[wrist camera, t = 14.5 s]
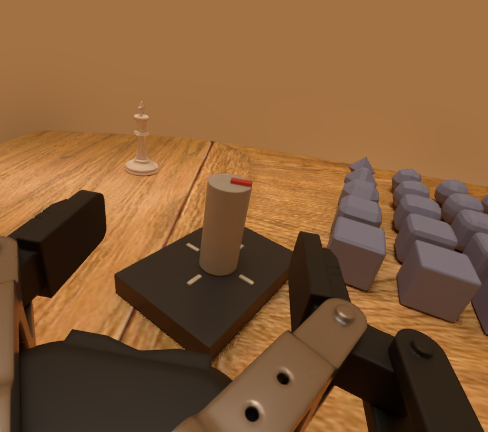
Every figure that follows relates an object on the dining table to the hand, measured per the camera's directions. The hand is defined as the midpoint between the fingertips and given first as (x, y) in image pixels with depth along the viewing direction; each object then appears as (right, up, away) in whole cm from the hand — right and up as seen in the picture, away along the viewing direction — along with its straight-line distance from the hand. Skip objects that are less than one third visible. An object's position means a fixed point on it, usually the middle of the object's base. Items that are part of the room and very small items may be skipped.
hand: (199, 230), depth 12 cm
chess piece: (-14, +8, +35) cm, 38 cm away
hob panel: (-1, -5, +16) cm, 17 cm away
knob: (0, -4, +15) cm, 15 cm away
